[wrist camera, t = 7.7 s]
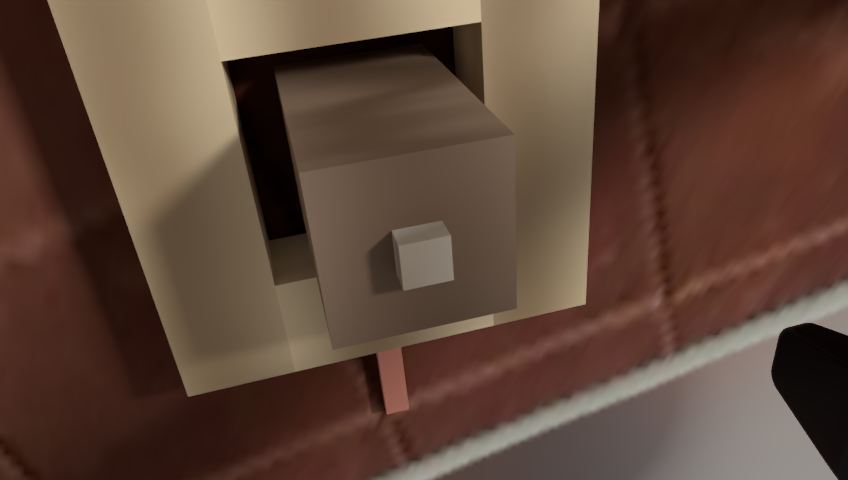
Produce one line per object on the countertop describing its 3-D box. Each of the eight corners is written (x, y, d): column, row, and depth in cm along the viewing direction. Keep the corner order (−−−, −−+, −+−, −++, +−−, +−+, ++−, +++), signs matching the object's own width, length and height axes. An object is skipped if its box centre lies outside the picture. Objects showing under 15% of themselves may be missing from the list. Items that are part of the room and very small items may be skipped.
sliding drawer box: (421, 43, 19) (527, 146, 12) (432, 176, 21) (527, 324, 14) (273, 65, 18) (302, 187, 11) (299, 201, 20) (337, 369, 13)
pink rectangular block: (392, 300, 22) (395, 309, 22) (405, 399, 25) (408, 409, 24) (368, 305, 22) (371, 314, 22) (384, 404, 24) (387, 414, 24)
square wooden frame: (558, -140, 17) (605, -137, 15) (552, 262, 23) (585, 304, 21) (49, -83, 15) (22, -71, 13) (191, 342, 21) (188, 397, 19)
